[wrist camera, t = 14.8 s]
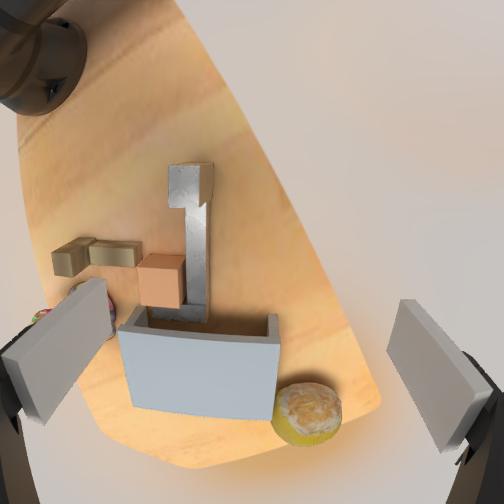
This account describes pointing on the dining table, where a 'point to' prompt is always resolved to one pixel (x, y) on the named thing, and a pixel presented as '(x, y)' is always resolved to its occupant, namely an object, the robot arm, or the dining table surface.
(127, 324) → the grey u-shaped bridge
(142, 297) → the block
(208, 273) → the grey piece
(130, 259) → the l-shaped tan bracket
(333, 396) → the fruit
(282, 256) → the dining table surface
